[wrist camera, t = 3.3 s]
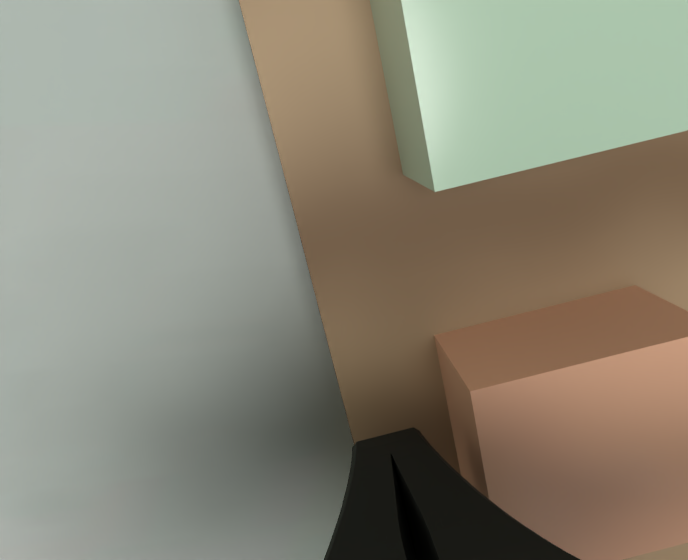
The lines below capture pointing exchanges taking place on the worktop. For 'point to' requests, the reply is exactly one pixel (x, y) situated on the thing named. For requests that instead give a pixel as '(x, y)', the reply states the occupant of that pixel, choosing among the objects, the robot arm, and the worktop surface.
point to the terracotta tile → (578, 420)
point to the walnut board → (442, 223)
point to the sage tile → (528, 81)
